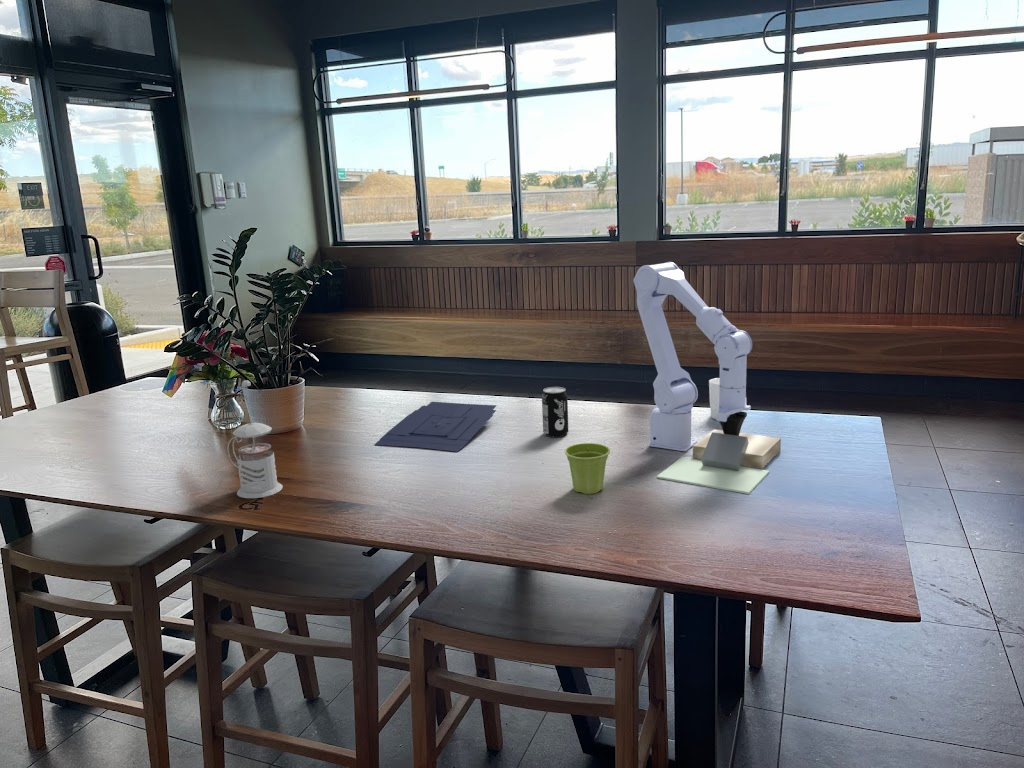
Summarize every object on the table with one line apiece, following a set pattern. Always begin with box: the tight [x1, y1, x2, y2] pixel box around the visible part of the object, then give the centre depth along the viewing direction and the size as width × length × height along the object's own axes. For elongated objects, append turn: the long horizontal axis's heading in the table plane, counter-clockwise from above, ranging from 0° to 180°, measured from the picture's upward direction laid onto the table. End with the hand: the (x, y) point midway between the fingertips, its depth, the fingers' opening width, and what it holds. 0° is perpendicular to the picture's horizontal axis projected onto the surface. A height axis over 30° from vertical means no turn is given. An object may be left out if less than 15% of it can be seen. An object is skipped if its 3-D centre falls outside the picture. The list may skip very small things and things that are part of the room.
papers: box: [374, 401, 498, 452], centre depth 209 cm, size 24×30×4 cm
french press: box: [226, 379, 283, 499], centre depth 170 cm, size 10×12×25 cm
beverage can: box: [541, 386, 569, 438], centre depth 200 cm, size 7×7×12 cm
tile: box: [700, 432, 749, 471], centre depth 172 cm, size 8×8×2 cm
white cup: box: [708, 377, 720, 420], centre depth 209 cm, size 8×8×10 cm
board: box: [692, 428, 782, 470], centre depth 180 cm, size 16×14×3 cm
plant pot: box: [564, 442, 611, 495], centre depth 162 cm, size 9×9×9 cm
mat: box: [656, 456, 770, 495], centre depth 168 cm, size 20×14×1 cm
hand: (731, 443), depth 176 cm, fingers closed
